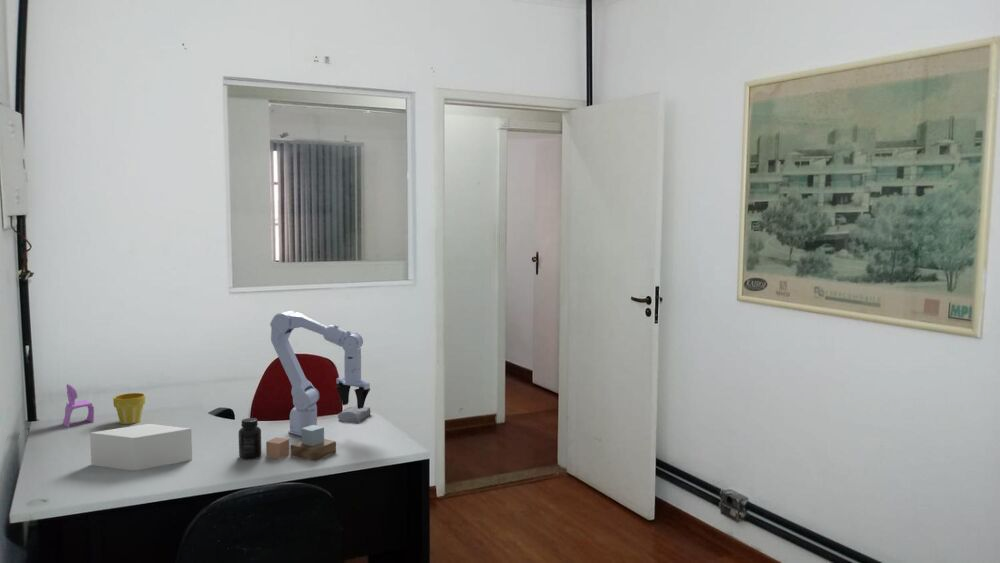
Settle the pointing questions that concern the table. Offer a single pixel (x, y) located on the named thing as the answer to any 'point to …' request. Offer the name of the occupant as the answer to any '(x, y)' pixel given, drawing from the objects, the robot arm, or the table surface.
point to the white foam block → (141, 446)
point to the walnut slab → (313, 450)
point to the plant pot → (129, 407)
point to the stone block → (354, 414)
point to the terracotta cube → (277, 447)
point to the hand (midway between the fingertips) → (352, 406)
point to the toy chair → (76, 406)
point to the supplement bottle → (249, 439)
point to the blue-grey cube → (312, 435)
